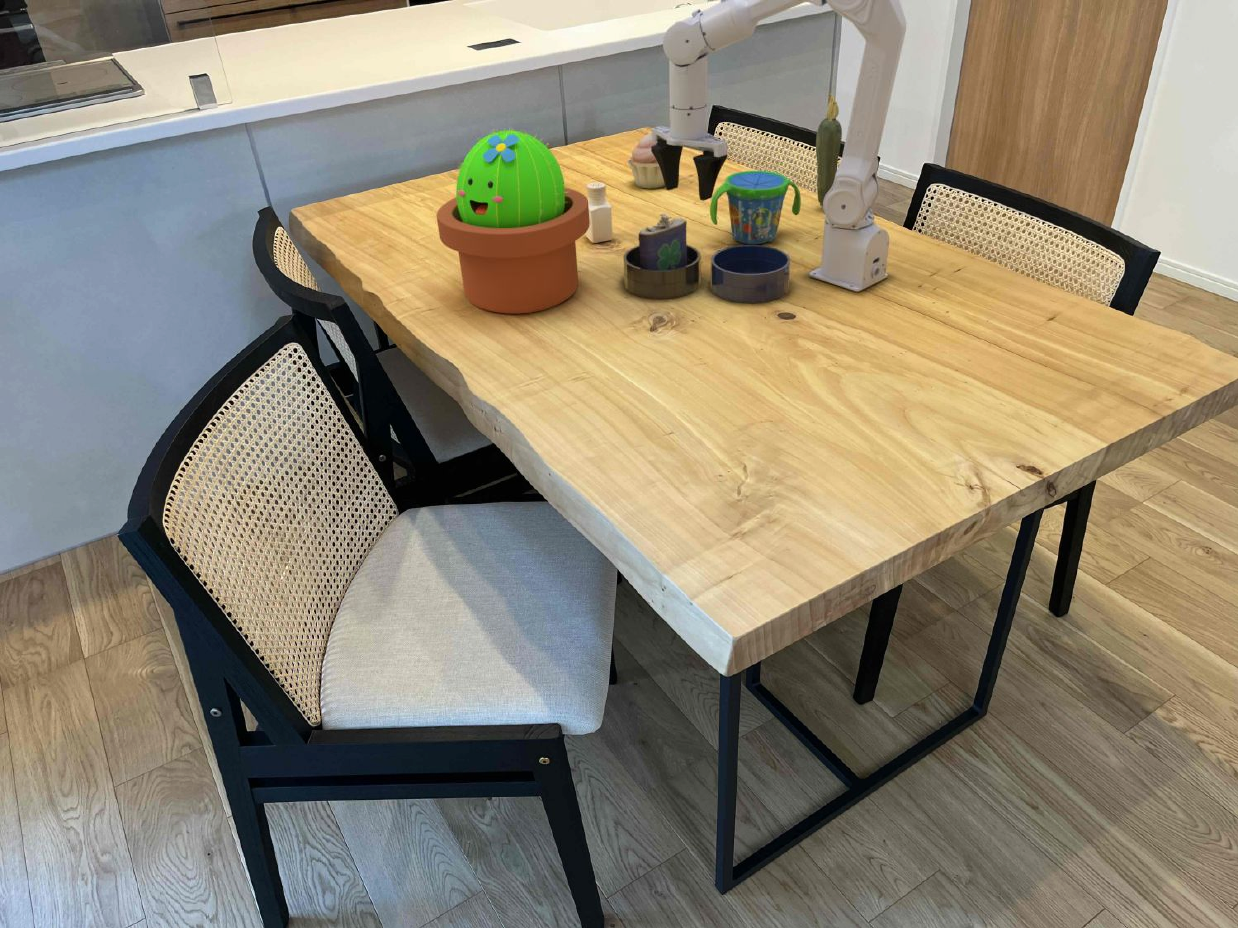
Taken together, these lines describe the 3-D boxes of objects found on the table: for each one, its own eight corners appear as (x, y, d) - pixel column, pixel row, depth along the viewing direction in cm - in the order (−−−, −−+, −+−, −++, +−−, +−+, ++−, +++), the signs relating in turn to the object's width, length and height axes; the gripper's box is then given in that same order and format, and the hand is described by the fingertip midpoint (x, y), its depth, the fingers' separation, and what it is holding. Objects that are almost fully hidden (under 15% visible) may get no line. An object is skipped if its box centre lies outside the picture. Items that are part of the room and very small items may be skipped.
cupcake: (683, 180, 188) (682, 129, 183) (660, 194, 182) (659, 142, 176) (643, 174, 193) (642, 125, 187) (619, 188, 186) (617, 136, 181)
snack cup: (789, 224, 165) (793, 166, 160) (807, 245, 157) (812, 185, 151) (703, 231, 164) (703, 174, 158) (716, 253, 155) (717, 193, 150)
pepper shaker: (614, 240, 162) (611, 186, 157) (592, 244, 161) (589, 190, 156) (605, 233, 165) (602, 180, 160) (584, 237, 164) (581, 183, 159)
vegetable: (835, 214, 168) (845, 98, 157) (810, 213, 169) (819, 98, 158) (835, 206, 172) (845, 92, 161) (811, 205, 173) (819, 92, 162)
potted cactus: (507, 256, 159) (489, 103, 144) (618, 277, 149) (610, 115, 135) (422, 305, 143) (393, 139, 129) (539, 333, 133) (521, 157, 119)
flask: (679, 270, 150) (678, 205, 143) (692, 275, 148) (692, 209, 142) (636, 287, 145) (634, 220, 139) (649, 293, 143) (647, 225, 137)
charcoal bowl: (716, 282, 146) (716, 254, 143) (661, 306, 139) (660, 278, 137) (663, 262, 153) (662, 236, 151) (608, 284, 147) (607, 257, 144)
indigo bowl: (804, 286, 143) (806, 258, 141) (752, 310, 137) (754, 281, 134) (746, 265, 151) (747, 239, 148) (694, 288, 144) (694, 260, 142)
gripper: (636, 103, 144) (639, 190, 152) (704, 118, 135) (704, 210, 143) (669, 94, 148) (670, 180, 156) (737, 108, 139) (735, 198, 147)
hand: (688, 193), depth 149 cm, fingers open, 7 cm apart
